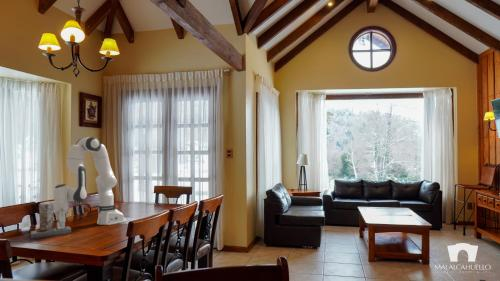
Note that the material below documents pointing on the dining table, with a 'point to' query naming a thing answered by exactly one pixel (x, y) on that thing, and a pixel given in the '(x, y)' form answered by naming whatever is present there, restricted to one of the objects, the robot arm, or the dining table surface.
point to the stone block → (46, 215)
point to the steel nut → (59, 226)
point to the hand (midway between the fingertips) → (60, 226)
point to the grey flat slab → (50, 232)
